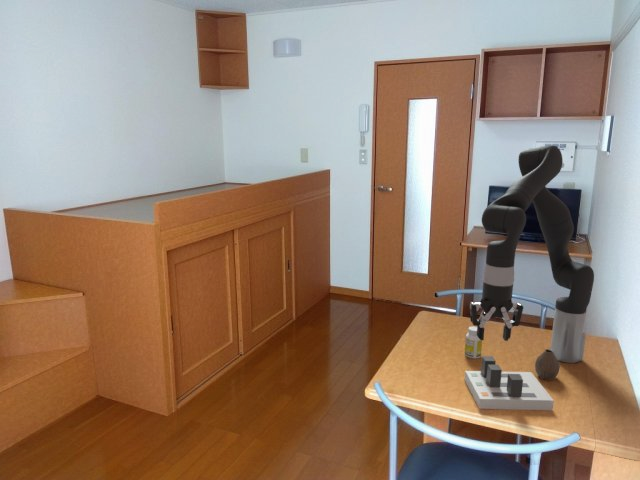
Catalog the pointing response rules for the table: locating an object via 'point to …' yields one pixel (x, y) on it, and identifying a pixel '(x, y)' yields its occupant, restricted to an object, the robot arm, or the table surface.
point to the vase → (547, 365)
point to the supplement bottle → (473, 343)
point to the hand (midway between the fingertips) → (493, 339)
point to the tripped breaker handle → (514, 385)
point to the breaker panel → (505, 389)
